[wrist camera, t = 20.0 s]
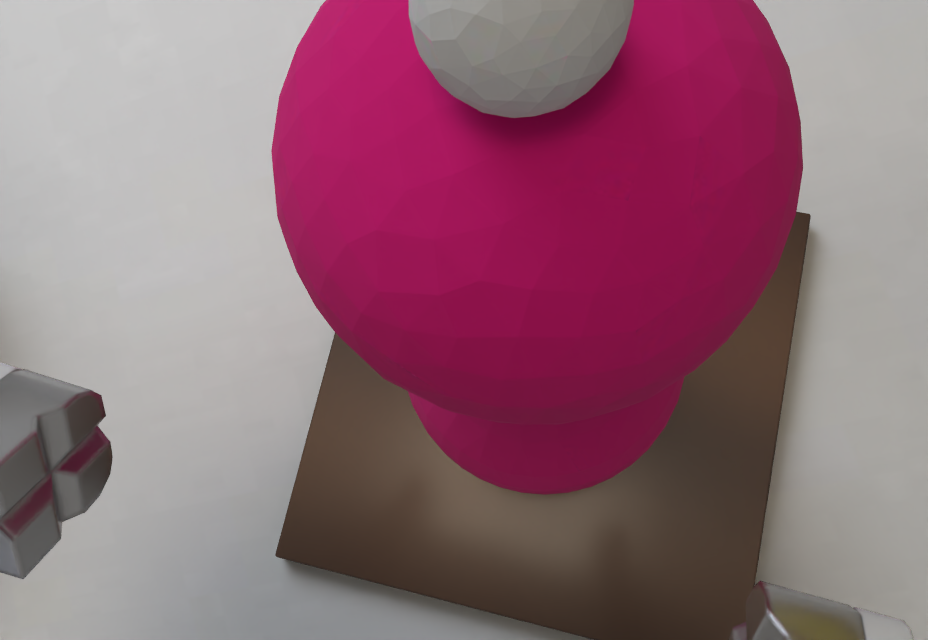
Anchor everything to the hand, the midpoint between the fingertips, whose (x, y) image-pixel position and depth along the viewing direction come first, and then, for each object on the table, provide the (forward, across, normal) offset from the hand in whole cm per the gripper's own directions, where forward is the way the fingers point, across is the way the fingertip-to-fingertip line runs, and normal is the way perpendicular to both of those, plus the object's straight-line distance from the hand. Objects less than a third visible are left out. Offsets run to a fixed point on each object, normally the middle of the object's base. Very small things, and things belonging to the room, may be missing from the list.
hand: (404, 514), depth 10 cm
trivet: (+14, -1, +8) cm, 16 cm away
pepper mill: (+14, 0, +8) cm, 16 cm away
